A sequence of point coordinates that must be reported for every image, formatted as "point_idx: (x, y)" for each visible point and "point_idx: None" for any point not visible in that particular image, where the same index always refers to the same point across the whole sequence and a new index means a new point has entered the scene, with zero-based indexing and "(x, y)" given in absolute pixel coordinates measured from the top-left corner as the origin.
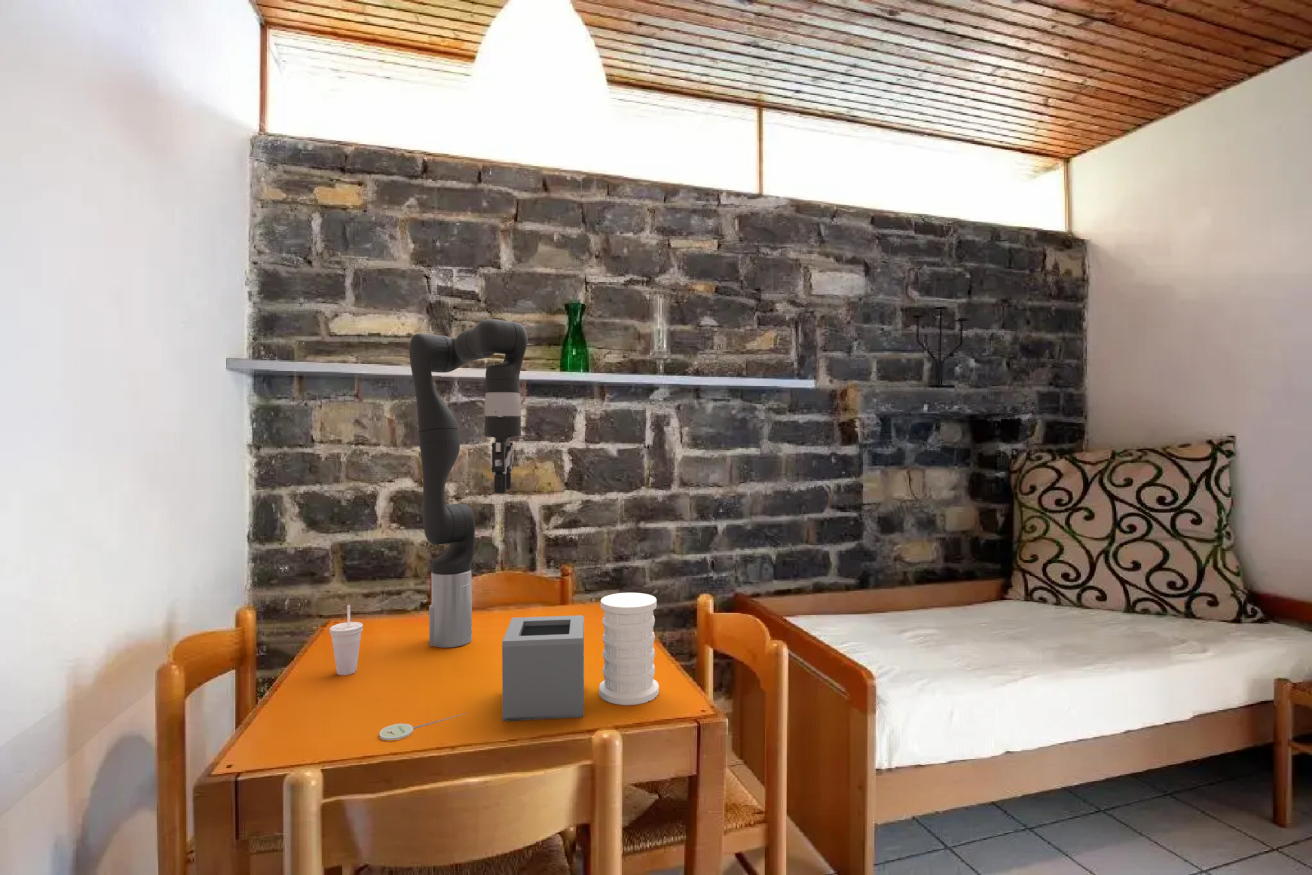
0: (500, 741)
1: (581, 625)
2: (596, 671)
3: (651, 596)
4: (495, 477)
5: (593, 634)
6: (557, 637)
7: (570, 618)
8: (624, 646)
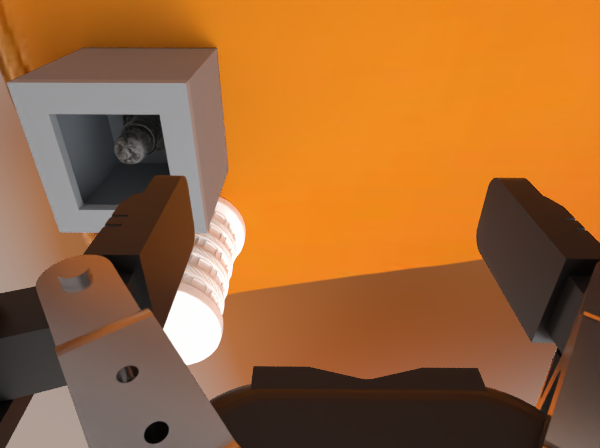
0: (17, 53)
1: None
2: (287, 188)
3: (191, 361)
4: (112, 249)
5: (484, 186)
6: (55, 190)
7: None
8: None
